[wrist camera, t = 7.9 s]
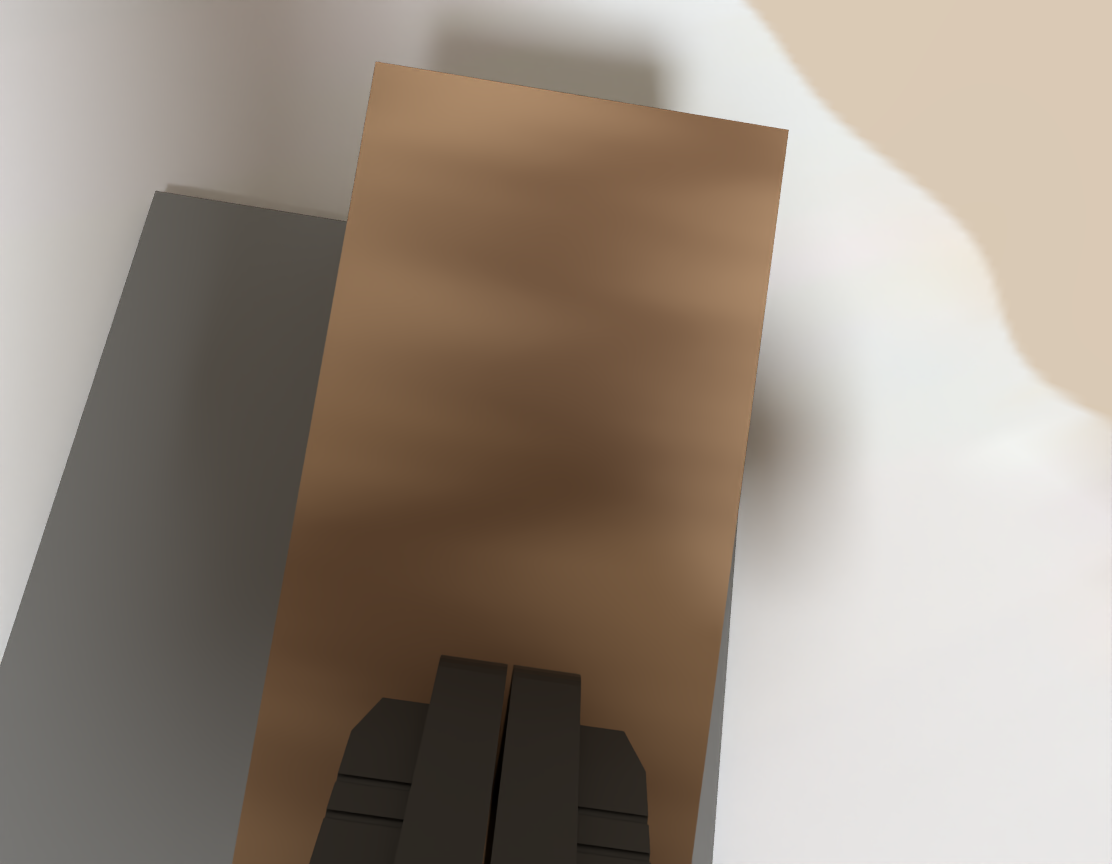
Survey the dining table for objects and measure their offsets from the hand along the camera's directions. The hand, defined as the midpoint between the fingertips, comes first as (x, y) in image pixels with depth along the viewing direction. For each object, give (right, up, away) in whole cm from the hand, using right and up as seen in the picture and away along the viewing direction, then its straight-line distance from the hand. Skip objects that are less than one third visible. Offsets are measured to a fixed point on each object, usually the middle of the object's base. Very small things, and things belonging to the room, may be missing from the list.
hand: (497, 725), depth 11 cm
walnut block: (-1, -4, +3) cm, 5 cm away
